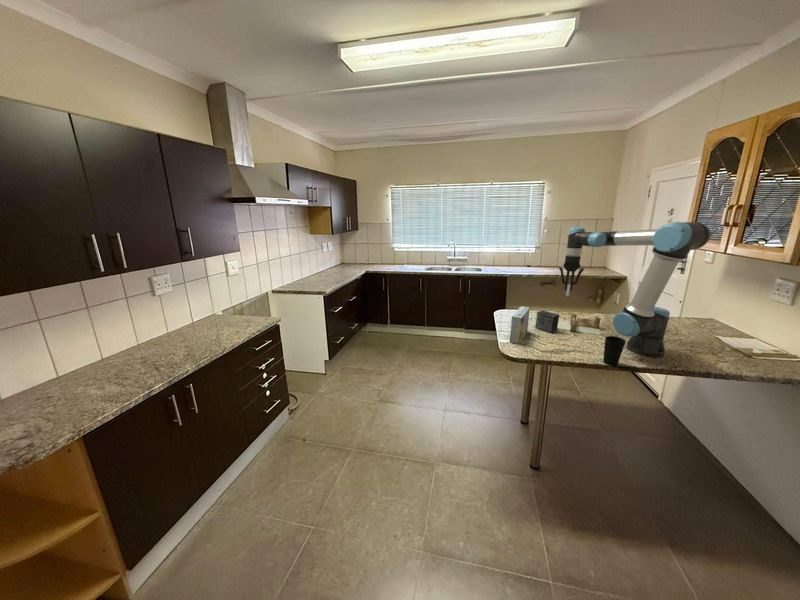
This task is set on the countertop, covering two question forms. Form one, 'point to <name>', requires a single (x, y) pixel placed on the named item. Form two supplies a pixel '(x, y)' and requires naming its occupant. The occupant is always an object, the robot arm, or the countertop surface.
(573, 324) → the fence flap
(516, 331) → the snack box
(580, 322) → the fence fixed
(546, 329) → the small box
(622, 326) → the robot arm
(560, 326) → the card
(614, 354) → the cup
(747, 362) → the countertop surface
